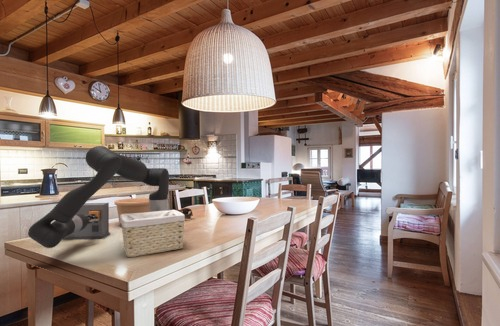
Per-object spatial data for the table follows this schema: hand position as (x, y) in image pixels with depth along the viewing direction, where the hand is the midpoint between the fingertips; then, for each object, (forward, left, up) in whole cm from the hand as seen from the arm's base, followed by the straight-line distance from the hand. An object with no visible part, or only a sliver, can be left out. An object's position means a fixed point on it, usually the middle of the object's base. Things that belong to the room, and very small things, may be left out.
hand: (93, 216), depth 133 cm
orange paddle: (+1, -2, -2) cm, 3 cm away
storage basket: (-36, -1, -11) cm, 38 cm away
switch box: (+7, -2, -11) cm, 13 cm away
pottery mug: (-6, -58, -11) cm, 60 cm away
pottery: (+9, -33, -11) cm, 36 cm away
